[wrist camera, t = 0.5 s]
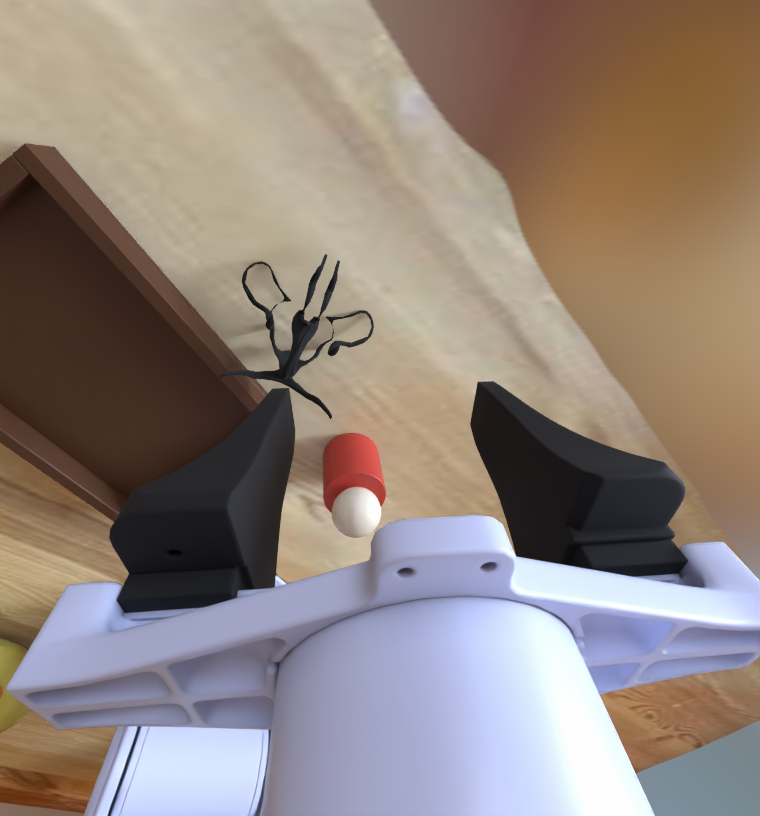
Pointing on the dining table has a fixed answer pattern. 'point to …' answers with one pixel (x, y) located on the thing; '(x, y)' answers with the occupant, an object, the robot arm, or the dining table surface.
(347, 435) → the peg doll
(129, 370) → the tray
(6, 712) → the giraffe plush
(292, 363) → the creature
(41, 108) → the dining table surface
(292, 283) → the dining table surface
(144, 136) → the dining table surface
